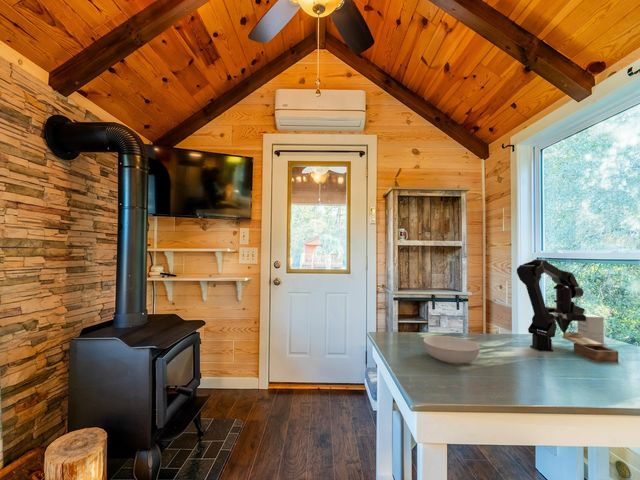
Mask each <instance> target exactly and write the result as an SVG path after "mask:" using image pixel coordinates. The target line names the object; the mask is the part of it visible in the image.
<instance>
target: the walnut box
mask: <svg viewBox="0 0 640 480" xmlns="http://www.w3.org/2000/svg"><path fill="white" fill-rule="evenodd" d="M573 353H574V354H575V355H578V356H580V357H582V358H585V359H588V360H589V361H592V362H595V363H619V351H618V350H615V349H612V348H609V347H606V346H605V345H604V346H589V345H580V344H577V343H574V342H573Z"/></svg>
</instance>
